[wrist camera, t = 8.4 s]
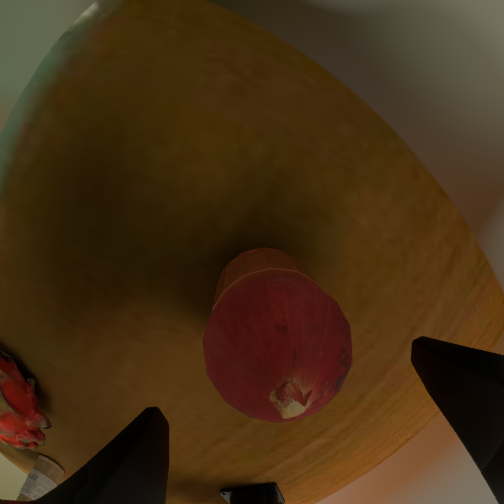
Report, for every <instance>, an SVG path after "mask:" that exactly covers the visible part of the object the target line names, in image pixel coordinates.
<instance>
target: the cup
mask: <svg viewBox="0 0 504 504" xmlns="http://www.w3.org/2000/svg"><path fill="white" fill-rule="evenodd" d="M279 274H283V275H288V276H292V277H296V278H300V279H304V280H308V281H311V282H312V283H314V284H315V285H316V286H318V287H319V288H320V289H321V290H322V288H321V287H320V285H319V284H318V282H317V281H316V280H315V279H314V278H313V277H312V275H311V274H310V273H309V272H308V271H307V270H306V269H305V267H304V266H303V265H302V264H301V263H300V262H299V261H298V260H296V259H295V258H294V257H293V256H291V255H290V254H288V253H286V252H284V251H281V250H278V249H274V248H256V249H251V250H248V251H246V252H243V253H241V254H240V255H238V256H236V257H235V258H234V259H233V260H231V261H230V262H229V263H228V264H227V265H226V267H225V268H224V270H223V271H222V273H221V275H220V277H219V280H218V282H217V285H216V291H215V296H214V302H213V308H212V312H213V310H214V309H215V308H216V306H217V305H218V304H219V303H220V301H221V300H222V299H223V298H224V297H225V295H226V294H227V293H228V292H229V290H230V289H232V288H234V287H236V286H238V285H240V284H242V283H244V282H246V281H248V280H250V279H252V278H254V277H261V276H270V275H279Z"/></svg>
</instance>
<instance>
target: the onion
mask: <svg viewBox="0 0 504 504" xmlns="http://www.w3.org/2000/svg"><path fill="white" fill-rule="evenodd" d="M203 347H204V355H205V363H206V370H207V375H208V376H209V378H210V380H211V382H212V383H213V385H214V386H215V387H216V389H217V390H218V392H219V393H220V395H221V396H222V398H223V399H224V400H225V401H226V402H227V403H228V404H229V405H231V406H233V407H234V408H236V409H237V410H239V411H241V412H242V413H244V414H246V415H247V416H249V417H252V418H256V419H260V420H265V421H270V422H283V421H292V420H299V419H301V418H304V417H306V416H309V415H311V414H314V413H316V412H318V411H319V410H321V409H322V408H323V407H324V406H325V405H326V404H327V403H328V402H329V401H330V400H331V399H332V398H334V397H335V396H336V395H337V394H338V392H339V391H340V389H341V387H342V385H343V382H344V380H345V378H346V376H347V374H348V371H349V369H350V367H351V364H352V344H351V331H350V325H349V323H348V321H347V320H346V318H345V316H344V314H343V312H342V310H341V309H340V307H339V305H338V303H337V302H336V301H335V300H334V299H333V298H332V297H330V296H329V295H328V294H327V293H325V292H324V291H323V290H321V289H320V288H319V287H318V286H316V285H315V284H314V283H312V282H311V281H308V280H304V279H300V278H296V277H292V276H288V275H283V274H279V275H270V276H261V277H254V278H252V279H250V280H248V281H246V282H244V283H242V284H240V285H238V286H236V287H234V288H232V289H230V290H229V292H228V293H227V294H226V295H225V297H224V298H223V299H222V300H221V301H220V303H219V304H218V305H217V306H216V308H215V309H214V310H213V312H212V313H211V315H210V317H209V320H208V324H207V327H206V331H205V334H204V338H203Z"/></svg>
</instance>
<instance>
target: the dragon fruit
mask: <svg viewBox="0 0 504 504" xmlns="http://www.w3.org/2000/svg"><path fill="white" fill-rule="evenodd" d="M0 354H1V356H2V358H3V359H2V358H1V357H0V440H1V442H2V443H3V444H4V445H6V446H8V445H9V444H11V443H12V446H14V447H15V448H17V449H18V450H23V449H25V448H27V449H31V450H33V451H34V450H35V449H36V448H37V447H38V444H40V445H44V446H45V440H46V438H45V435H44V433H43V432H42V431H41V430H40V429H39V428H44V429H45V428H47V429H48V428H50V427H51V426H52V425H51V423H50V421H49V418H48V417H47V416H46V415H45V413H43V412H41V411H40V410H39V407H38V402H37V400H38V396H37V395H36V394H35V383H36V381H35V380H34V379H32V378H31V379H27V381H28V383H27V382H26V381H25V379H24V377H23V376H22V374H21V373H20V371H19V370H18V368H17V366H16V364H15V362H14V359H13V358H12V357H10V356H9V355H8V354H6V353H5V352H3V351H1V350H0Z"/></svg>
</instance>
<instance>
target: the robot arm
mask: <svg viewBox="0 0 504 504" xmlns="http://www.w3.org/2000/svg"><path fill="white" fill-rule="evenodd" d="M411 362H412V364H413V366H414V368H415V370H416V372H417V373H418V375H419V377H420V379H421V381H422V382H423V384H424V386H425V388H426V390H427V391H428V393H429V395H430V396H431V398H432V399H433V401H434V402H435V403H436V405H437V406H438V408H439V409H440V410H441V412H442V413H443V415H444V416H445V418H446V419H447V420H448V422H449V424H450V425H451V427H452V428H453V429H454V431H455V432H456V434H457V435H458V437H459V438H460V440H461V442H462V443H463V444H464V446H465V448H466V449H467V451H468V452H469V454H470V455H471V457H472V459H473V460H474V462H475V463H476V465H477V467H478V468H479V470H480V471H481V474H482V475H483V477H484V479H485V480H486V482H487V484H488V486H489V487H490V489H491V491H492V493H493V494H494V496H495V498H496V500H497V502H498V503H499V504H504V355H501V354H496V353H492V352H487V351H483V350H478V349H474V348H470V347H466V346H461V345H457V344H453V343H449V342H445V341H441V340H437V339H433V338H429V337H425V336H421V337H419V338H417V339H415V340H413V342H412V350H411ZM168 470H169V424H168V421H167V420H166V418H165V417H164V415H163V413H162V412H161V410H160V409H159V408H158V407H147V408H146V409H144V410H143V411H142V412H141V413H140V414H139V415H138V416H137V417H136V418H135V419H134V420H133V421H132V422H131V423H130V424H129V425H128V426H127V427H125V428H124V429H123V430H122V431H121V432H120V433H119V434H118V435H117V436H116V437H115V438H114V439H113V440H112V441H110V442H109V443H108V444H107V445H106V446H105V447H104V448H103V449H102V450H101V451H99V452H98V453H97V454H96V455H95V456H94V457H93V458H92V459H91V460H89V461H88V462H87V464H85V465H84V466H83V467H81V468H80V469H79V470H78V471H77V472H76V473H74V474H73V475H72V476H71V477H69V478H68V479H67V480H65V481H64V482H63V483H61V484H60V485H58V486H57V487H55V488H54V489H52V490H51V491H49V492H48V493H46V494H45V495H43V496H42V497H40V498H38V499H36V500H32V501H12V500H1V499H0V504H165V501H166V490H167V480H168ZM220 495H221V496H222V497H223V498H224V499H225V500H226V501H227V502H228V503H229V504H284V503H285V500H284V498H283V496H282V494H281V492H280V490H279V488H278V486H277V484H275V483H270V484H265V485H258V486H251V487H244V488H235V489H224V490H220Z"/></svg>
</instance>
